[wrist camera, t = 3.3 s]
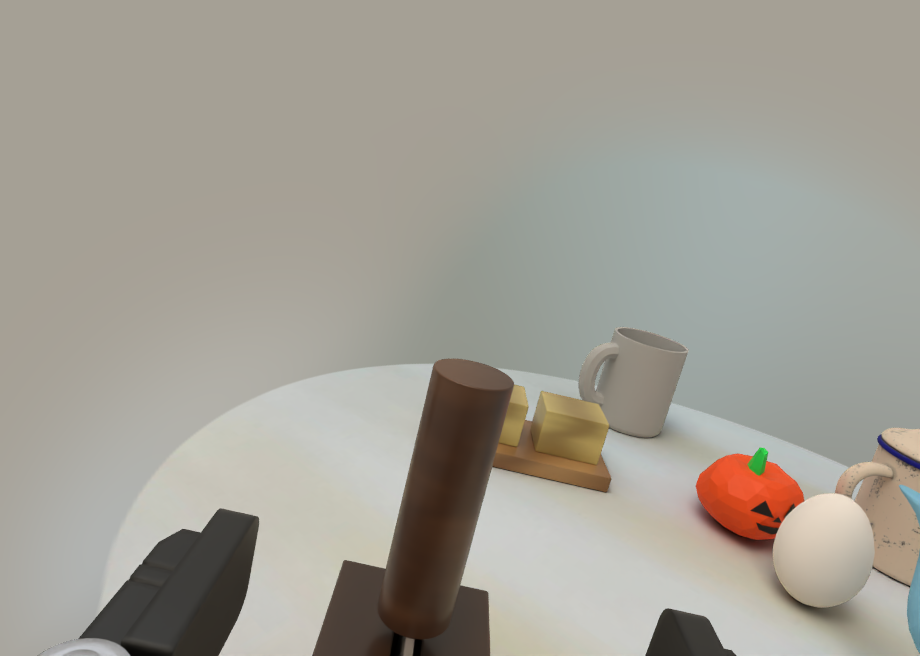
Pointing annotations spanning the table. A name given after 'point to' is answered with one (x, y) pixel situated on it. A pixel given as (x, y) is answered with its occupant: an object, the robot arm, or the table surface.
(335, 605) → the knife holder
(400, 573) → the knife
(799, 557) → the egg
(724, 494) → the pumpkin
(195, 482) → the table surface
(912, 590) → the teapot
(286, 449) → the table surface
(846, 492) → the teacup with lid
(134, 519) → the table surface
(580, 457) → the butter
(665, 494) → the table surface
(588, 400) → the cup
